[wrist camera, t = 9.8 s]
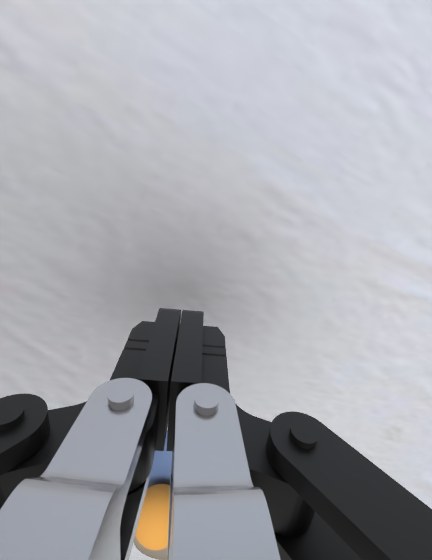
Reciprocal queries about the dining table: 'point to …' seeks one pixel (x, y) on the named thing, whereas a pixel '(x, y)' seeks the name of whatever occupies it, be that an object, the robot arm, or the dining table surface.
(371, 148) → the dining table surface
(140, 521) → the ball
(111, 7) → the dining table surface
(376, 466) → the robot arm
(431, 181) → the dining table surface
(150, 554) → the disc
